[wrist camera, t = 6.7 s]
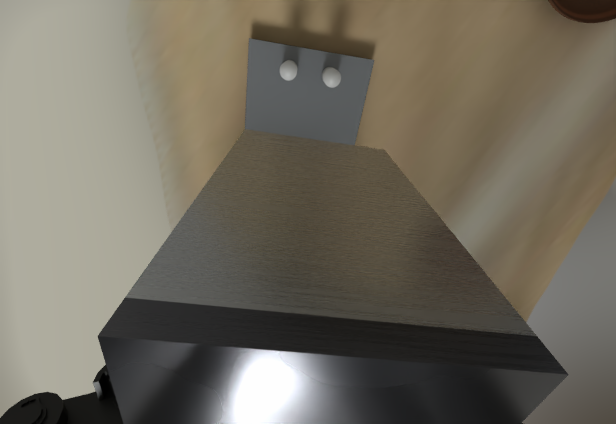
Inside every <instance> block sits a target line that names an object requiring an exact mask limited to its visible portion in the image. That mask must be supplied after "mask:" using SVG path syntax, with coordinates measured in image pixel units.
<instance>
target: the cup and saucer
mask: <svg viewBox="0 0 616 424" xmlns="http://www.w3.org/2000/svg"><path fill="white" fill-rule="evenodd" d="M548 1H549V2H550V4H551V5H552V7H553V8H554V9H555V10H556V11H557V12H559V13H560V14H561V15H563V16H564V17H566V18H568V19H571V20H574V21H578V22H584V23H598V22H605V21H609V20H612V19H616V0H548Z"/></svg>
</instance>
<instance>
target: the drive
mask: <svg viewBox="0 0 616 424" xmlns="http://www.w3.org/2000/svg"><path fill="white" fill-rule="evenodd" d="M98 339H99V342H100V346H101V349H102V352H103V356H104V359H105V363H106V366H107V369H108V373H109V376H110V380H111V383H112V386H113V390H114V393H115V397H116V400H117V403H118V407H119V410H120V413H121V417H122V420H123V424H521V423H522V421H523V420H525V419H526V417H527V416H528V415H529V414H530V413H531V412H532V411H533V410H534V409H535V408H536V407H537V406H538V405H539V404H540V403H541V402H542V401H543V400H544V399H545V398H546V397H547V396H548V395H549V394H550V393H551V392H552V391H553V390H554V389H555V388H556V387H557V386H558V385H559V384H560V383H561V382H562V381H563V380H564V379H565V378H566V377H567V376H568V374H567V372H566V371H565V370H564V369H563V367H562V366H561V365H560V364H559V363H558V361H557V360H556V359H555V358H554V356H553V355H552V354H551V353H550V351H549V350H548V349H547V348H546V347H545V346H544V344H543V343H542V342H541V340H540V339H539V338H538V337H537V336H536V334H535V333H534V332H533V331H532V330H531V328H530V327H529V326H528V325H527V323H526V322H525V321H524V320H523V319H522V317H521V316H520V315H519V314H518V312H517V311H516V310H515V309H514V308H513V306H512V305H511V304H510V303H509V301H508V300H507V299H506V298H505V297H504V295H503V294H502V293H501V292H500V290H499V289H498V288H497V287H496V286H495V284H494V283H493V282H492V281H491V279H490V278H489V277H488V276H487V275H486V273H485V272H484V271H483V270H482V268H481V267H480V266H479V265H478V264H477V262H476V261H475V260H474V259H473V257H472V256H471V255H470V254H469V253H468V251H467V250H466V249H465V248H464V246H463V245H462V244H461V243H460V242H459V240H458V239H457V238H456V237H455V235H454V234H453V233H452V232H451V231H450V229H449V228H448V227H447V226H446V224H445V223H444V222H443V221H442V220H441V218H440V217H439V216H438V215H437V214H436V212H435V211H434V210H433V209H432V207H431V206H430V205H429V204H428V203H427V201H426V200H425V199H424V198H423V196H422V195H421V194H420V193H419V192H418V190H417V189H416V188H415V187H414V185H413V184H412V183H411V182H410V181H409V179H408V178H407V177H406V176H405V174H404V173H403V172H402V171H401V170H400V168H399V167H398V166H397V165H396V163H395V162H394V161H393V160H392V159H391V157H390V156H389V155H388V154H387V152H386V151H385V150H382V149H375V148H369V147H362V146H355V145H349V144H342V143H335V142H329V141H322V140H315V139H309V138H302V137H295V136H288V135H282V134H275V133H268V132H262V131H255V130H248V129H245V130H244V131H243V133H242V134H241V136H240V137H239V138H238V140H237V141H236V143H235V144H234V145H233V147H232V148H231V150H230V151H229V152H228V154H227V155H226V157H225V158H224V159H223V161H222V162H221V164H220V165H219V166H218V168H217V169H216V171H215V172H214V173H213V175H212V176H211V178H210V179H209V181H208V182H207V183H206V185H205V186H204V188H203V189H202V190H201V192H200V193H199V195H198V196H197V197H196V199H195V200H194V202H193V203H192V204H191V206H190V207H189V209H188V210H187V211H186V213H185V214H184V216H183V217H182V218H181V220H180V221H179V223H178V224H177V225H176V227H175V228H174V230H173V231H172V232H171V234H170V235H169V237H168V238H167V240H166V241H165V242H164V244H163V245H162V247H161V248H160V249H159V251H158V252H157V254H156V255H155V256H154V258H153V259H152V261H151V262H150V263H149V265H148V266H147V268H146V269H145V270H144V272H143V273H142V275H141V276H140V277H139V279H138V280H137V282H136V283H135V284H134V286H133V287H132V289H131V290H130V292H129V293H128V294H127V296H126V297H125V298H124V300H123V301H122V303H121V304H120V305H119V307H118V308H117V310H116V311H115V313H114V314H113V315H112V317H111V318H110V320H109V321H108V322H107V324H106V325H105V327H104V328H103V329H102V331H101V332H100V334H99V335H98Z"/></svg>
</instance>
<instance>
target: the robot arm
mask: <svg viewBox="0 0 616 424" xmlns="http://www.w3.org/2000/svg"><path fill="white" fill-rule="evenodd" d="M93 384H94V387H95V390H96V392H93V393H90V394H86V395H82V396H78V397H73V398H69V399H65V400H62V399H61V398H60V397H59V396H58V395H57V394H54V393H49V392H44V393H38V394H34V395H32V396H29V397H27V398H25V399H23V400H21V401H19V402H18V403H17V404H15V405H14V406H12V407H11V408H9V409H8V410H7V411H6V412H5V414H4V415H3V416H2V417H1V418H0V424H123V420H122V417H121V413H120V410H119V407H118V403H117V400H116V397H115V393H114V390H113V386H112V383H111V380H110V376H109V373H108V369H107V366H106V365H105V366H104V367H103V368H102V369H101V370H100V371H99V372H98V373H97V375H96V377H95V379H94V381H93ZM521 424H523V423H521Z"/></svg>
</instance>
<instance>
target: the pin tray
mask: <svg viewBox="0 0 616 424" xmlns="http://www.w3.org/2000/svg"><path fill="white" fill-rule="evenodd" d="M373 63H374V60H370V59H365V58H359V57H353V56H347V55H342V54H336V53H330V52H324V51H319V50H313V49H307V48H301V47H296V46H290V45H284V44H278V43H273V42H267V41H261V40H255V39H250V38H249V51H248V73H247V95H246V117H245V129H248V130H255V131H262V132H268V133H275V134H282V135H288V136H295V137H302V138H309V139H315V140H322V141H329V142H335V143H342V144H349V145H355V141H356V137H357V132H358V128H359V124H360V119H361V115H362V111H363V106H364V102H365V98H366V94H367V89H368V85H369V81H370V76H371V72H372V68H373Z"/></svg>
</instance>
